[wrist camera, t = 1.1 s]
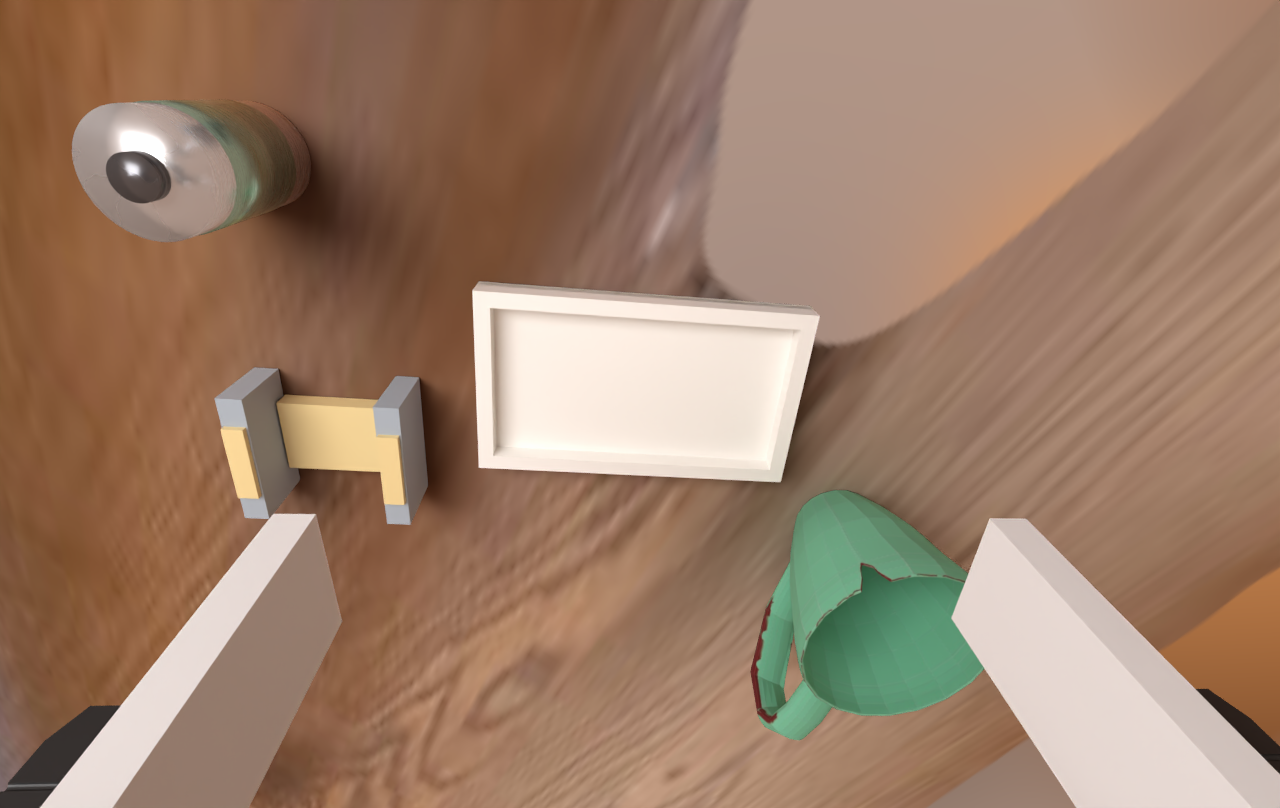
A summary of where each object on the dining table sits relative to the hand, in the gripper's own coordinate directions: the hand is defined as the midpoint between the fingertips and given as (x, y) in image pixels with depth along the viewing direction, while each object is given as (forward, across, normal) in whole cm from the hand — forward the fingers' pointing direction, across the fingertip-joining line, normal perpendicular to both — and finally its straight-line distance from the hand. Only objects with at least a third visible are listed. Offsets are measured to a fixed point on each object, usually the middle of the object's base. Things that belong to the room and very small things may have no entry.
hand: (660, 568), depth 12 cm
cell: (+21, -17, +5) cm, 27 cm away
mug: (+21, +12, -17) cm, 30 cm away
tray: (+21, +1, -6) cm, 21 cm away
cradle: (+21, -15, -9) cm, 27 cm away
